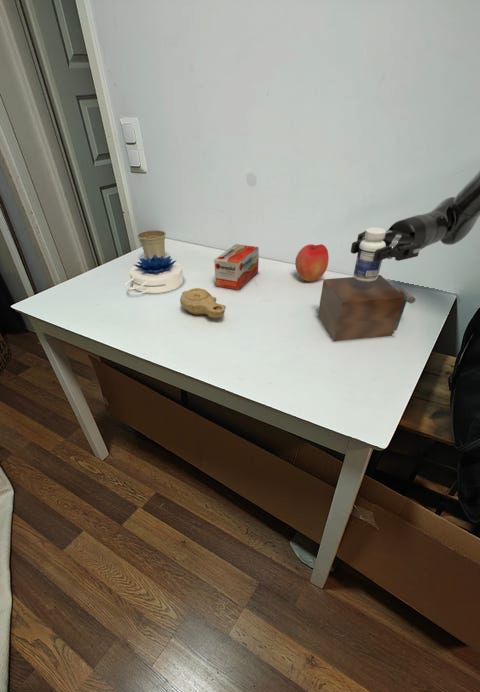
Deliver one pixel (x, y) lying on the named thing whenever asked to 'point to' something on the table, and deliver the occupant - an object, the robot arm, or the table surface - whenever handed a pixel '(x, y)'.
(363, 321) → the cabinet
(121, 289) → the table surface
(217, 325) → the table surface
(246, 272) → the medicine box
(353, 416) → the table surface
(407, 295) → the drawer
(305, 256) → the apple
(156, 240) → the flower pot
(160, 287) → the lotus flower trinket box
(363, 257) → the pill bottle
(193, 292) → the oil lamp
